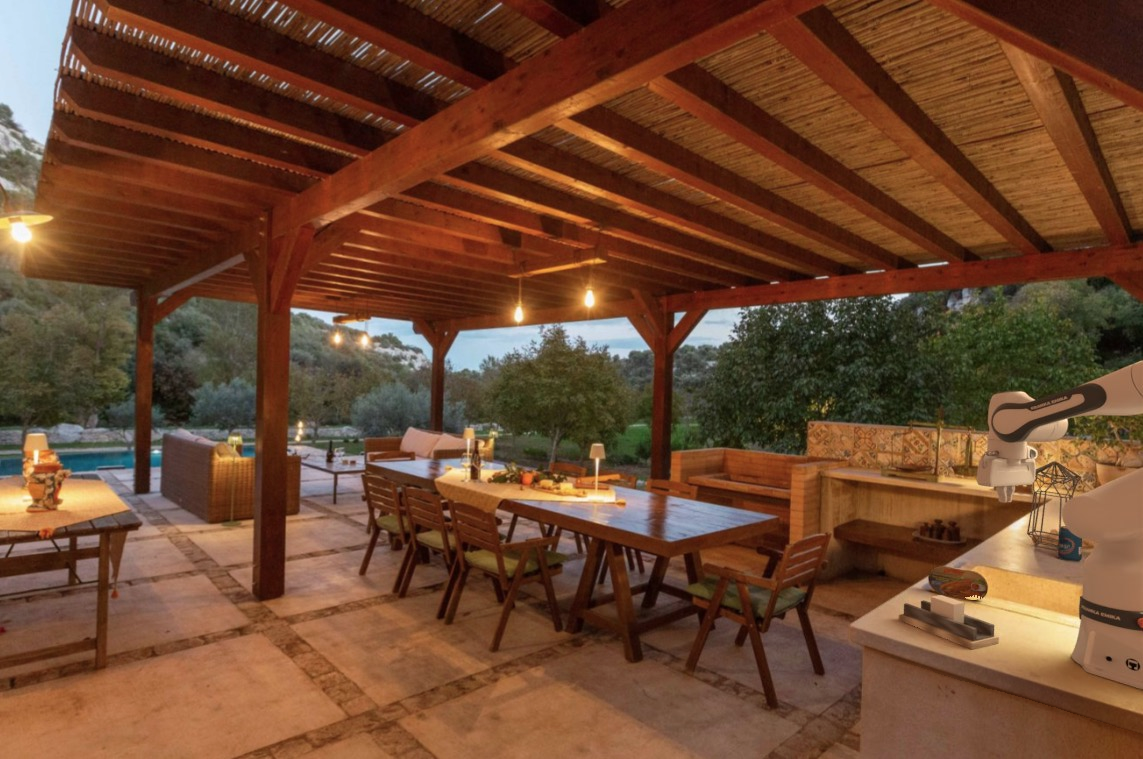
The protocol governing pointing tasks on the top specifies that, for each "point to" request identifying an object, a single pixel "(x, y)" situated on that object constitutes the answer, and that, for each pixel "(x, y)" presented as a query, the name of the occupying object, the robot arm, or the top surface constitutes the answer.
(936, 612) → the block
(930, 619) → the rail board
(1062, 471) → the geometric lantern
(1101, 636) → the robot arm
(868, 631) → the top surface
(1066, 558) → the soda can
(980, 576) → the tin
